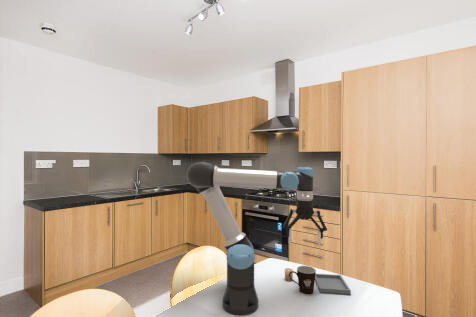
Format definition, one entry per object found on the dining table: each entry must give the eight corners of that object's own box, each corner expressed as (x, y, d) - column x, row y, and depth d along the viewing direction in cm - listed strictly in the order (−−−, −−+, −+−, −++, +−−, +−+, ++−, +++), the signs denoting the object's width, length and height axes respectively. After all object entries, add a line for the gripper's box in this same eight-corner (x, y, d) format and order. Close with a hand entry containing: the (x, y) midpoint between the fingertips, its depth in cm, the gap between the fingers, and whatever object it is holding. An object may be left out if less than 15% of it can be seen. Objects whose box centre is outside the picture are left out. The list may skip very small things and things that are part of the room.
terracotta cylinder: (285, 281, 125) (284, 271, 125) (284, 277, 129) (284, 268, 129) (293, 281, 125) (292, 271, 125) (292, 278, 129) (292, 268, 129)
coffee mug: (318, 289, 117) (317, 268, 117) (313, 297, 110) (313, 275, 110) (294, 283, 123) (294, 263, 123) (288, 290, 116) (288, 269, 116)
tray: (319, 293, 114) (319, 288, 114) (313, 277, 129) (313, 273, 129) (350, 295, 112) (350, 290, 112) (340, 279, 127) (340, 275, 127)
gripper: (278, 199, 115) (278, 245, 114) (334, 201, 112) (333, 248, 111) (278, 197, 122) (277, 240, 122) (330, 199, 119) (329, 243, 119)
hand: (304, 244), depth 117 cm, fingers open, 13 cm apart
